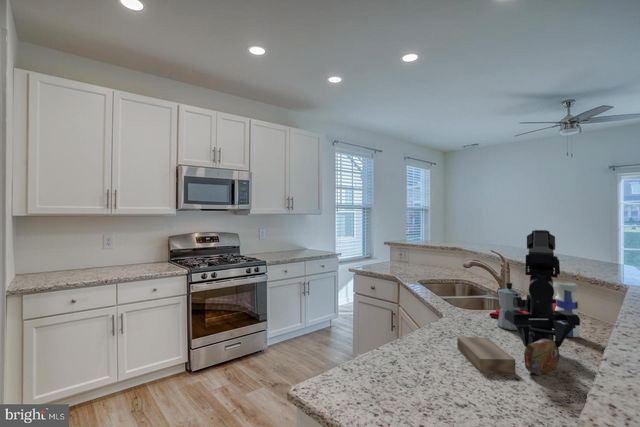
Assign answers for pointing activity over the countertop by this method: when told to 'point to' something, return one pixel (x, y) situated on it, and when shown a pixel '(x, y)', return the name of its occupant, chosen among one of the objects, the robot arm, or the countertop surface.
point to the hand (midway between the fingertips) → (541, 346)
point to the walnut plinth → (486, 355)
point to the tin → (541, 356)
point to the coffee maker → (506, 305)
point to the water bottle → (567, 300)
